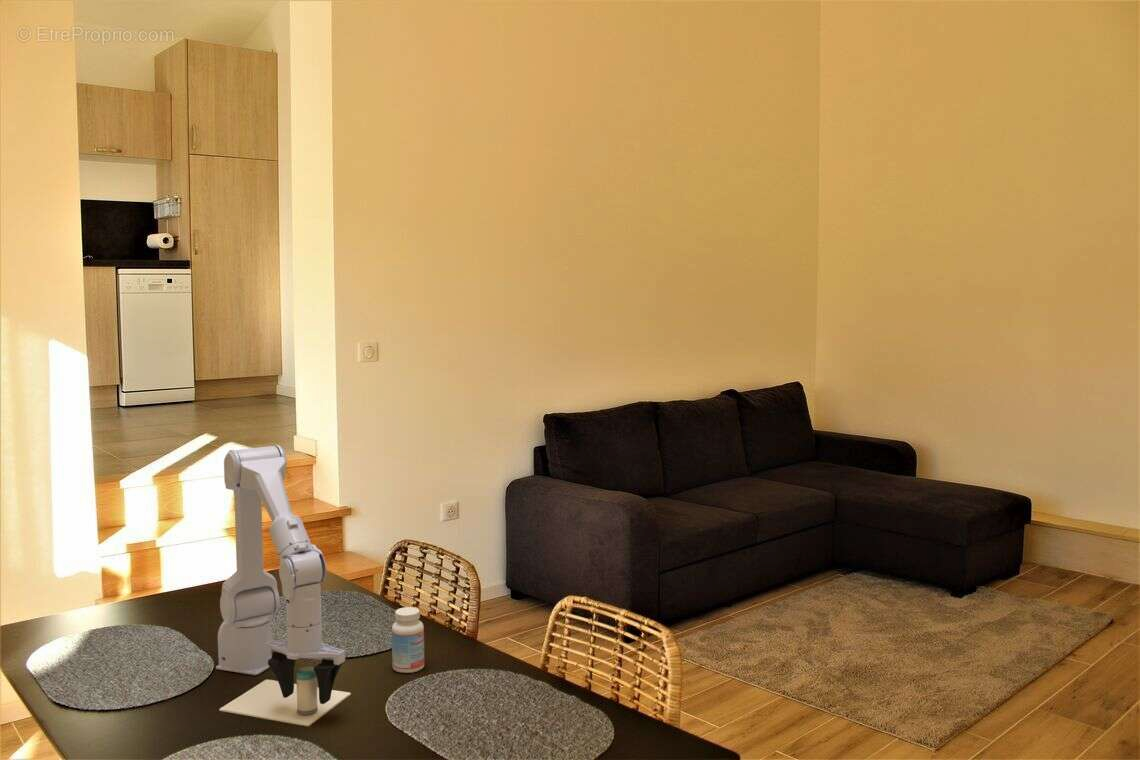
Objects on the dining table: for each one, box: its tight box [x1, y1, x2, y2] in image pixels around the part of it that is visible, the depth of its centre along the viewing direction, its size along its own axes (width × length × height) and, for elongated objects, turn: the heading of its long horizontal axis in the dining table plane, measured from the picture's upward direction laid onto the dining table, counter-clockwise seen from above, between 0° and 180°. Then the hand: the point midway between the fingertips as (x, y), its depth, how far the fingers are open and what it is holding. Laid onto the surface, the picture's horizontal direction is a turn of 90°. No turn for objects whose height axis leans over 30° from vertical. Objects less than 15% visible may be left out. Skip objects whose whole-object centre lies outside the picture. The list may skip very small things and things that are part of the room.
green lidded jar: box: [295, 666, 318, 716], centre depth 162 cm, size 4×4×7 cm
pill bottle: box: [391, 606, 425, 674], centre depth 181 cm, size 6×6×11 cm
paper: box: [218, 679, 352, 727], centre depth 167 cm, size 18×13×1 cm
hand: (306, 698), depth 162 cm, fingers open, 7 cm apart
